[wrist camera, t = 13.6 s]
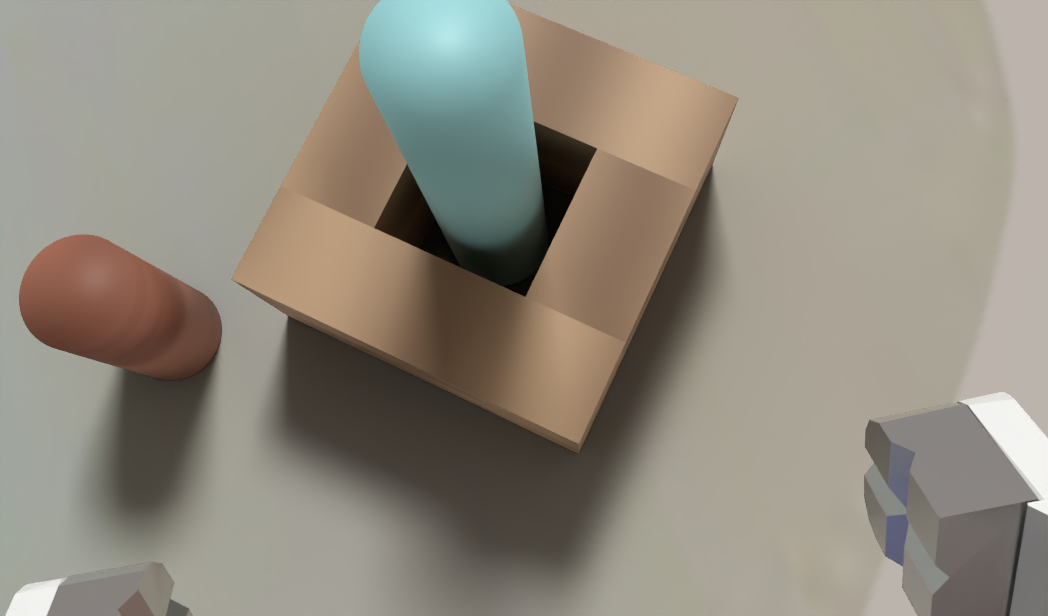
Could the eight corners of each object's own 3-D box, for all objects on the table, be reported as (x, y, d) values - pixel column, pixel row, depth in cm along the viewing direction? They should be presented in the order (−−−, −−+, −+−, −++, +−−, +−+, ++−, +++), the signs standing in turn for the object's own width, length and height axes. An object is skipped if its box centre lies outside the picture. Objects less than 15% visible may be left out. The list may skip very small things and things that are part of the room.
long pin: (436, 262, 30) (330, 87, 17) (478, 178, 31) (404, -51, 18) (522, 301, 30) (478, 152, 17) (563, 216, 30) (550, 8, 17)
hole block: (287, 315, 30) (230, 278, 25) (430, 44, 32) (402, -40, 27) (579, 454, 29) (579, 443, 24) (712, 163, 30) (738, 98, 25)
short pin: (110, 355, 30) (-3, 320, 24) (157, 271, 31) (57, 216, 25) (192, 396, 30) (97, 370, 24) (238, 310, 30) (156, 263, 24)
